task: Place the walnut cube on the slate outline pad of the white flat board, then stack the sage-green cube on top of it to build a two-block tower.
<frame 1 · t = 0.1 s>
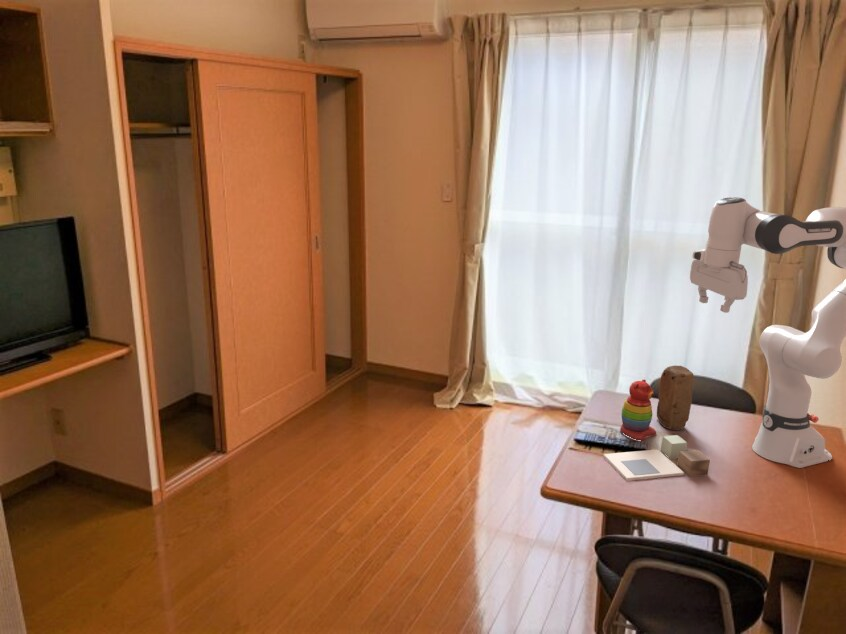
hand: (713, 307, 185), 48 cm above the table, fingers open, 8 cm apart
white flat board: (642, 465, 195), on the table
stacking bear: (635, 433, 216), on the table
block: (669, 424, 223), on the table
walnut cube: (692, 470, 193), on the table
sage cube: (672, 454, 203), on the table
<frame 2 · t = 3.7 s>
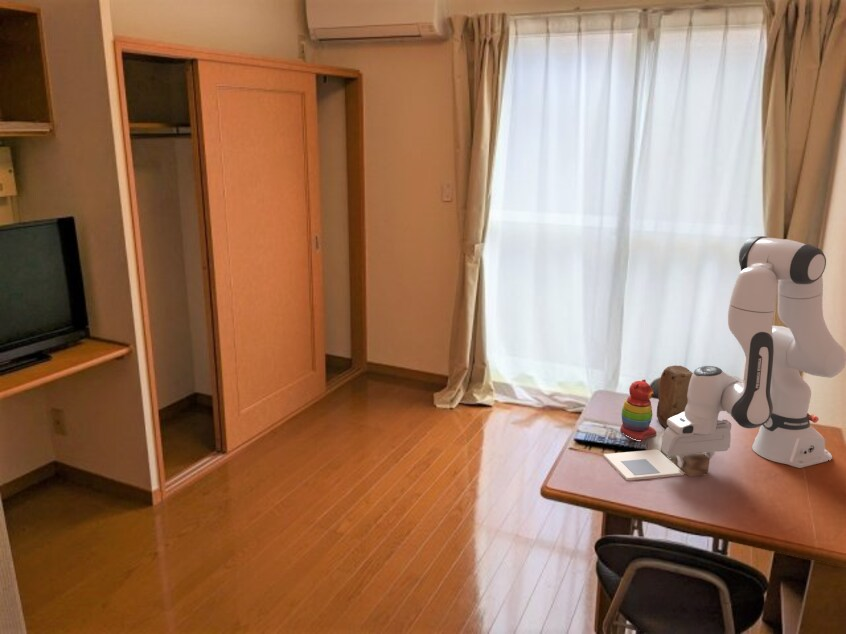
hand: (692, 465, 193), 2 cm above the table, fingers closed on walnut cube, 6 cm apart
walnut cube: (691, 470, 193), on the table, touching gripper
everything else where it was.
when the fingers open (3 cm above the table, at t = 9.1 s): walnut cube stays where it is, resting on white flat board.
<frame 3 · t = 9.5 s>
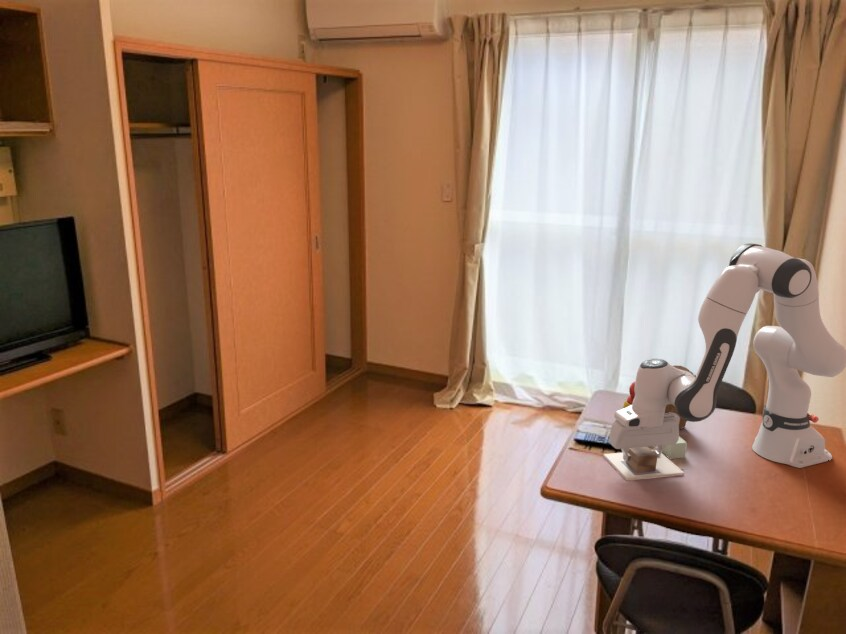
hand: (641, 458, 192), 3 cm above the table, fingers open, 8 cm apart
walnut cube: (640, 466, 193), point 1 cm above the table, touching white flat board
everything else where it was.
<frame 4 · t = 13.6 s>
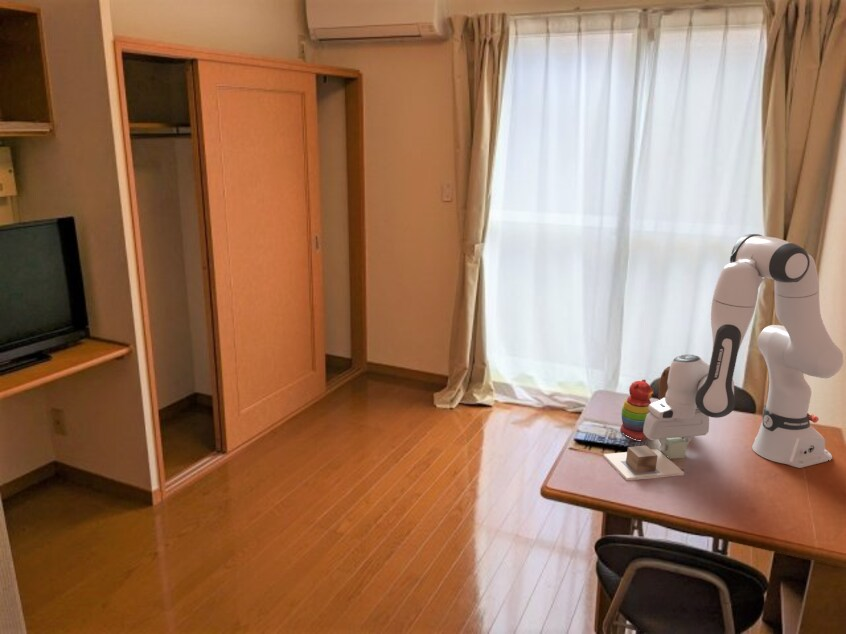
hand: (673, 449, 202), 2 cm above the table, fingers closed on sage cube, 5 cm apart
sage cube: (672, 453, 203), on the table, touching gripper
everything else where it was.
when the fingers open (8 cm above the table, at t = 18.4 s): sage cube stays where it is, resting on walnut cube.
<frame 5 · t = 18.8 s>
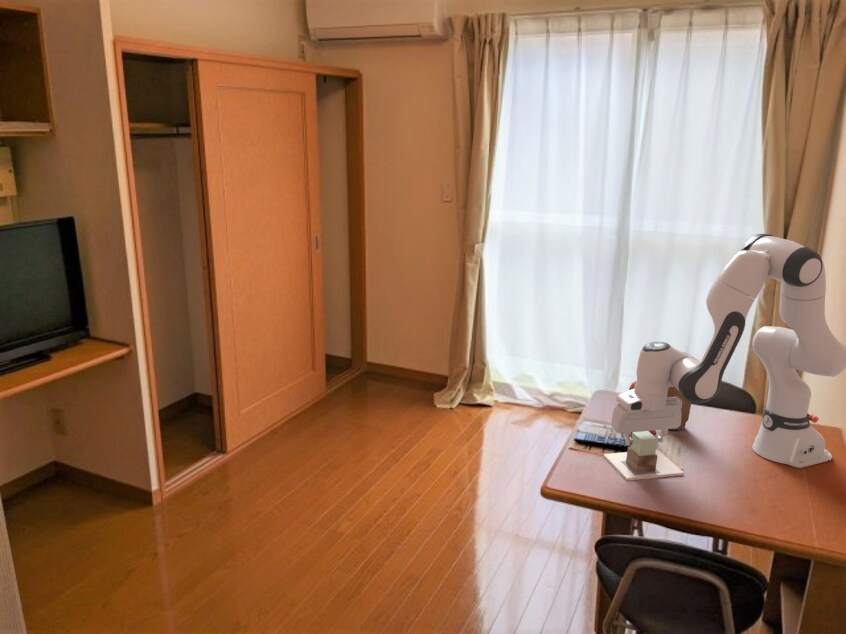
hand: (643, 443, 190), 8 cm above the table, fingers open, 8 cm apart
walnut cube: (640, 466, 193), point 1 cm above the table, touching white flat board, sage cube
sage cube: (642, 451, 191), point 6 cm above the table, touching walnut cube
everything else where it was.
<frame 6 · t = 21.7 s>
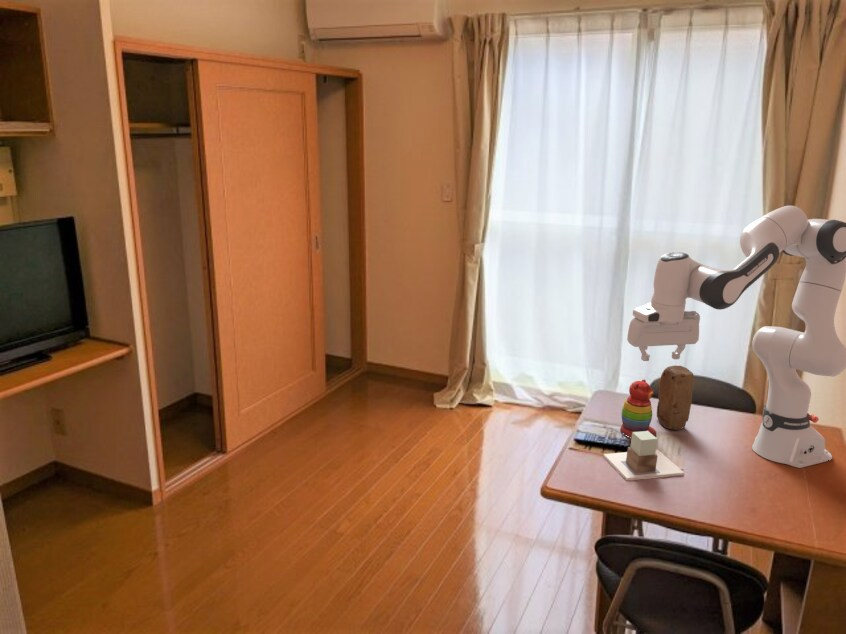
hand: (660, 359, 186), 33 cm above the table, fingers open, 8 cm apart
nothing on the table moved.
at the end: walnut cube inside the target area (0.0 cm from its centre), point 0.9 cm above the table; sage cube 0.0 cm off-centre on the walnut cube, point 5.0 cm above the walnut cube's base; sage cube tilted 0° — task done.
